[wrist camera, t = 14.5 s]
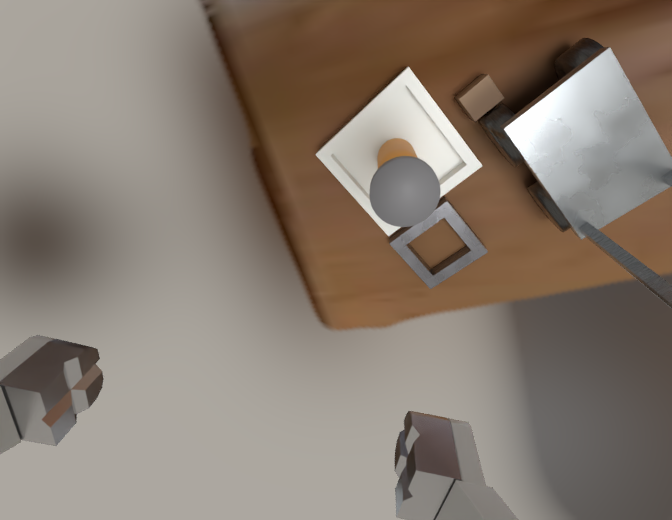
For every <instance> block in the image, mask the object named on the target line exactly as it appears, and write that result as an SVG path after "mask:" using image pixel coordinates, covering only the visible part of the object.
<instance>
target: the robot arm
mask: <svg viewBox="0 0 672 520" xmlns="http://www.w3.org/2000/svg"><path fill="white" fill-rule="evenodd" d="M99 359H100V357H99V353H98V349H96V348H93V347H89V346H85V345H81V344H76V343H72V342H68V341H63V340H59V339H54V338H49V337H45V336H40V335H36V336H33V337H29V338H28V339H27V340H25V341H24V342H23V343H22V344H20V345H19V346H18V347H16V348H15V349H14V350H12V351H11V352H10V353H8V354H7V355H6V356H4V357H3V358H2V359H0V454H1V453H3V452H5V451H7V450H8V449H10V448H12V447H13V446H15V445H17V444H18V443H20V442H21V440H25V441H30V442H36V443H41V444H47V445H53V446H57V444H58V443H59V442H60V441H61V440H62V439H63V438H64V436H65V435H66V434H67V433H68V432H69V431H70V429H71V428H72V427H73V426H74V425H75V424H76V419H77V414H78V413H80V412H82V411H84V410H86V409H88V408H89V407H90V406H91V405H92V404H93V403H94V401H95V400H96V399H97V397H98V395H99V393H100V391H101V389H102V385H103V373H102V371H101V370H100V368H99V367H98V366H97V365H96V363H97V361H98V360H99ZM395 472H396V474H397V475H398V477H399V480H398V483H397V486H396V488H395V492H396V493H395V495H396V517H397V518H401V519H405V520H518V518H517V517H516V516H515V515H514V513H513V512H512V511H511V510H510V509H509V507H508V506H507V505H506V504H505V502H504V501H503V500H502V499H501V497H500V496H499V495H498V494H497V493H496V491H495V490H494V489H493V488H492V487H488V486H486V484H485V480H484V476H483V472H482V468H481V464H480V460H479V456H478V452H477V448H476V444H475V440H474V436H473V432H472V429H471V426H470V424H469V423H468V422H464V421H459V420H454V419H449V418H448V419H447V418H445V417H440V416H434V415H429V414H424V413H418V412H413V411H408V413H407V414H406V416H405V419H404V430H403V431H401V432H400V433H399V436H398V439H397V443H396V449H395Z"/></svg>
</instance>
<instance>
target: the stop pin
mask: <svg viewBox="0 0 672 520" xmlns="http://www.w3.org/2000/svg"><path fill="white" fill-rule="evenodd" d="M377 161H378V169H377V171H376V172H375V174H374V175H373V178H372V180H371V183H370V195H369V196H370V203H371V206H372V208H373V210H374V212H375V213H376V215H377V216H378V217H379V218H380V219H381V220H383V221H384V222H386V223H388V224H390V225H393V226H397V227H409V226H414V225H416V224H419V223H421V222H423V221H424V220H426V219H427V218H428V217H429V216H430V215H431V214H432V213H433V212H434V210H435V209H436V207H437V205H438V202H439V199H440V183H439V180H438V178H437V176H436V174H435V172H434V171H433V169H432V168H431V167H430V166H429V165H428V164H427V163H426V162H425V161H423V160H421V159H419V158H418V157H417V155H416V153H415V151H414V149H413V147H412V145H411V144H410V143H409V142H408V141H406V140H404V139H401V138H394V139H390V140H388V141H386V142H385V143H384V144H383V145H382V146H381V148H380V149H379V152H378V157H377Z"/></svg>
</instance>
